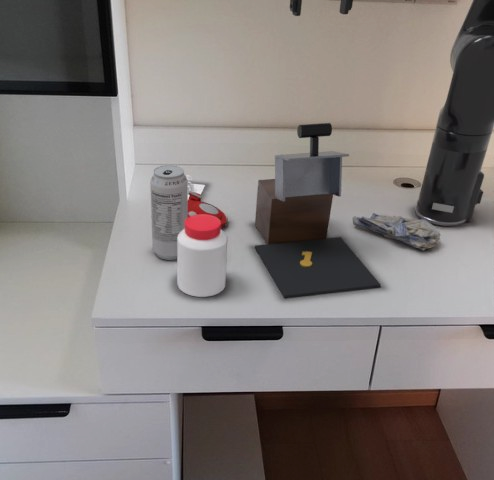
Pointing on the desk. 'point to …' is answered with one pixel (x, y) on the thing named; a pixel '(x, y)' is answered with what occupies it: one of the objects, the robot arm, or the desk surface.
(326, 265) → the mat
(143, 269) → the desk surface
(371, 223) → the mineral specimen
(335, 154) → the key caddy
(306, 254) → the brass key
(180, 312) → the desk surface
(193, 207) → the tracker holder
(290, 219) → the stand
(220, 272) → the pill bottle
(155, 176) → the energy drink can
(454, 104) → the robot arm
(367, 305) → the desk surface
